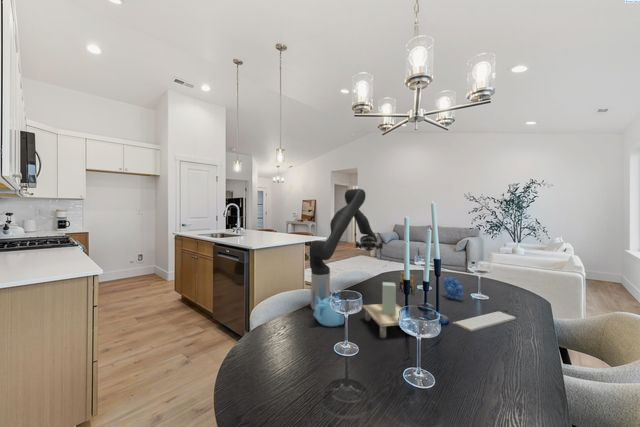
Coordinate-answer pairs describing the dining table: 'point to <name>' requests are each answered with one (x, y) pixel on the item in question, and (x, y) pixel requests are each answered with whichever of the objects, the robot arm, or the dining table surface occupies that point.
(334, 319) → the teapot
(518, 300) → the dining table surface
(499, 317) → the baseboard
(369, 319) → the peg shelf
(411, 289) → the ammunition clip
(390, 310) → the sage post
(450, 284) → the grapes
